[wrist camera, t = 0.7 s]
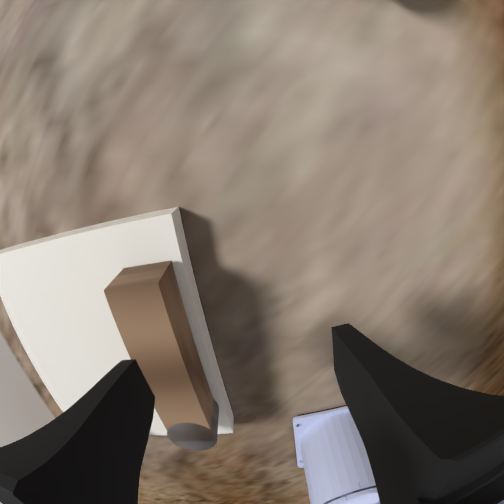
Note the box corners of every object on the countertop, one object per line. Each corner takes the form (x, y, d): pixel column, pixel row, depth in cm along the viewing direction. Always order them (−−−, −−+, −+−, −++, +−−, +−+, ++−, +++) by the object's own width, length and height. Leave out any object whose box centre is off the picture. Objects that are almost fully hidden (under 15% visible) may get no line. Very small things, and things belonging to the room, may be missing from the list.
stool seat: (233, 415, 24) (232, 456, 19) (81, 415, 24) (66, 446, 20) (178, 206, 18) (159, 224, 13) (1, 249, 18) (-34, 269, 14)
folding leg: (223, 419, 21) (222, 449, 18) (181, 421, 21) (176, 450, 18) (174, 259, 16) (162, 282, 14) (120, 268, 16) (100, 290, 14)
